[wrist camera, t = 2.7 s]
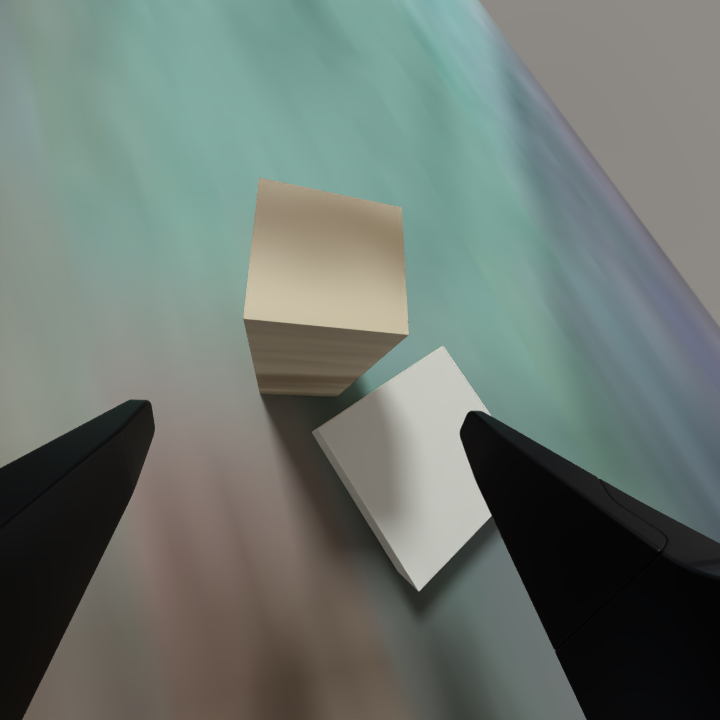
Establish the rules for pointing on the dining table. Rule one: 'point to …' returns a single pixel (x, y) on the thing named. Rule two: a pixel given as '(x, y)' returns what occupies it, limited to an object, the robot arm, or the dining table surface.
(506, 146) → the dining table surface
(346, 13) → the dining table surface
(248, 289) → the maple pillar block
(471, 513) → the off-white base block
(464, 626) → the dining table surface
